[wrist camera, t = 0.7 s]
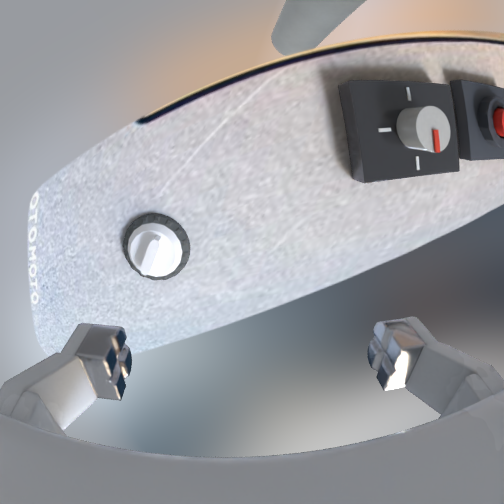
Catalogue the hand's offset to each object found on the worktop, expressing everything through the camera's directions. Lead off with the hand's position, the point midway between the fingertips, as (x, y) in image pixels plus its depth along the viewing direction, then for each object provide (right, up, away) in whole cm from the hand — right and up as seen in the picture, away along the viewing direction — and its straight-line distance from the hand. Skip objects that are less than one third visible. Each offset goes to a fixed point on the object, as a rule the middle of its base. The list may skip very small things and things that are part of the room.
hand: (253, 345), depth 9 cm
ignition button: (+31, +19, +14) cm, 39 cm away
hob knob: (+16, +15, +15) cm, 27 cm away
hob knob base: (+16, +16, +18) cm, 29 cm away
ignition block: (+30, +20, +18) cm, 40 cm away
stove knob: (-10, +3, +21) cm, 24 cm away
